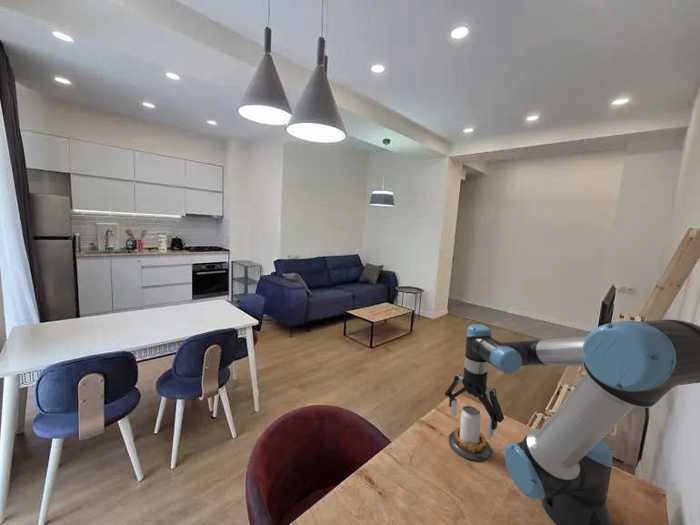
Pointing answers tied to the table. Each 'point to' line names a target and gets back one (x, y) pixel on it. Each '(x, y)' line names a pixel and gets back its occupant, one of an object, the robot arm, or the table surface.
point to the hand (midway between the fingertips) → (470, 425)
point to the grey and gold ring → (469, 447)
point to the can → (470, 425)
